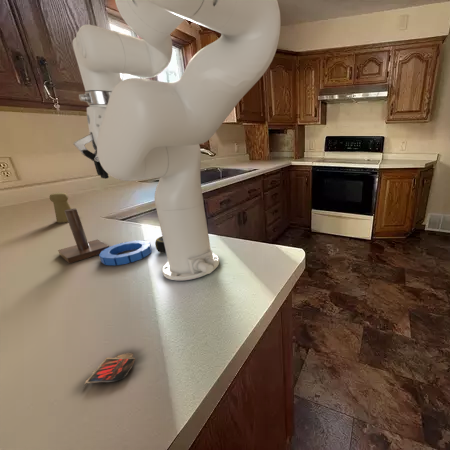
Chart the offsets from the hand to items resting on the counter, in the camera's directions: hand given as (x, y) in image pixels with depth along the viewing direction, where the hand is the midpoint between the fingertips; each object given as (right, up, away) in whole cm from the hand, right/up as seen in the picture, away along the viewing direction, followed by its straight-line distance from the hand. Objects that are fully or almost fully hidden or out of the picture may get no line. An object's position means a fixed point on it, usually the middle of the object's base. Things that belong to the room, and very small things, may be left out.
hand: (127, 175), depth 63 cm
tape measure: (+9, -20, +6) cm, 23 cm away
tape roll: (-2, -21, +3) cm, 21 cm away
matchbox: (+20, -32, -30) cm, 49 cm away
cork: (-48, -11, +34) cm, 60 cm away
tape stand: (-15, -21, +5) cm, 26 cm away
